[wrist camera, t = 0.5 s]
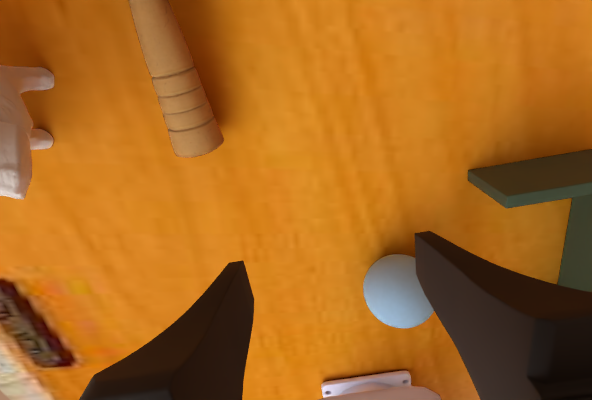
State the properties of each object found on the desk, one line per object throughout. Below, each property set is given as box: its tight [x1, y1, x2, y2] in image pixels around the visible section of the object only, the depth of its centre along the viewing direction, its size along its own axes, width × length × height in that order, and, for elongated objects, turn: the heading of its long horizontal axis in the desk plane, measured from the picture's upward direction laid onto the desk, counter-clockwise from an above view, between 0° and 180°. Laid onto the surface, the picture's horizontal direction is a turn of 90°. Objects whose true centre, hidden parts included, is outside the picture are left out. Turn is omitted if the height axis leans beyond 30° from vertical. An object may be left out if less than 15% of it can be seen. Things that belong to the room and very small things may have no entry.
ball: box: [363, 254, 434, 328], centre depth 24 cm, size 5×5×5 cm
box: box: [468, 149, 592, 292], centre depth 23 cm, size 14×8×5 cm, turn 10°
